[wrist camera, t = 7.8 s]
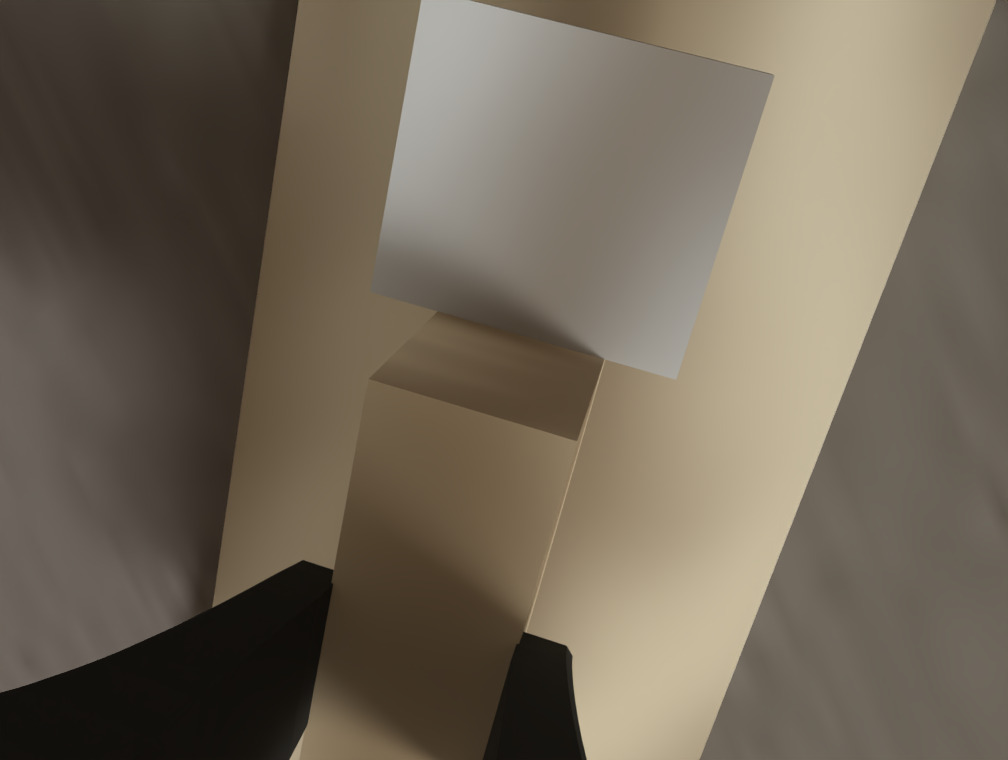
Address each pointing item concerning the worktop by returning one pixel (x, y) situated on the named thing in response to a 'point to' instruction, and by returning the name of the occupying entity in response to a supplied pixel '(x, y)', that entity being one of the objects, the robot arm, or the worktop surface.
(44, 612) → the worktop surface
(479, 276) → the turner
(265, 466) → the tool board
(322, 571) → the robot arm
